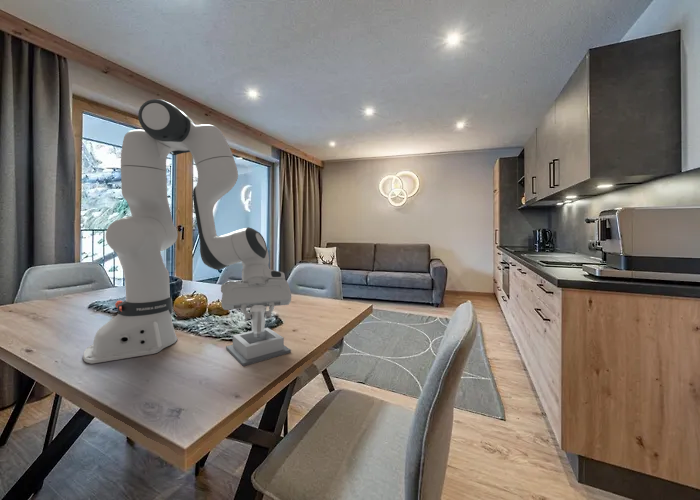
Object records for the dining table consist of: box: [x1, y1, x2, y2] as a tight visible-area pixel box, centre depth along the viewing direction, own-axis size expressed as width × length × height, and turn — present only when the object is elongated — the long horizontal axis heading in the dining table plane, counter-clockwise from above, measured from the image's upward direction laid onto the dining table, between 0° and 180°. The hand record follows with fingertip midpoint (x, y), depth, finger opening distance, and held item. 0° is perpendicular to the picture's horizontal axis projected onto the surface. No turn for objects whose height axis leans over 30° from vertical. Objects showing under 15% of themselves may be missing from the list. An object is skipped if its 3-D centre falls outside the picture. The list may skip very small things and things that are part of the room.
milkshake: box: [249, 303, 268, 338], centre depth 87 cm, size 4×5×10 cm
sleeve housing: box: [225, 327, 292, 367], centre depth 87 cm, size 14×14×4 cm
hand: (258, 318), depth 86 cm, fingers closed on milkshake, 4 cm apart
